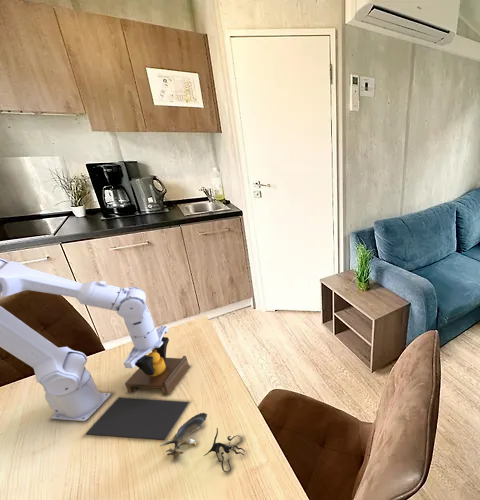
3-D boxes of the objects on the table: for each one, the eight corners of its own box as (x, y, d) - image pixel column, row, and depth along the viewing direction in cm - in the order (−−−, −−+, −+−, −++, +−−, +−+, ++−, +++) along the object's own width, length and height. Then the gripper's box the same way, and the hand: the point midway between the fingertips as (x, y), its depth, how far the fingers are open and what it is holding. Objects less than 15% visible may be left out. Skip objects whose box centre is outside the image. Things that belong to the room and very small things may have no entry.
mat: (86, 434, 69) (85, 433, 69) (119, 398, 78) (118, 397, 78) (164, 440, 68) (164, 439, 68) (188, 402, 77) (188, 401, 77)
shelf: (128, 392, 80) (123, 380, 78) (152, 364, 89) (148, 353, 87) (168, 394, 80) (164, 382, 78) (189, 367, 89) (186, 355, 87)
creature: (250, 440, 69) (217, 434, 69) (252, 426, 67) (218, 420, 67) (237, 476, 62) (201, 470, 62) (239, 462, 60) (201, 456, 60)
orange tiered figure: (144, 376, 81) (137, 358, 78) (155, 364, 85) (149, 346, 82) (159, 376, 81) (152, 359, 78) (169, 364, 85) (163, 347, 82)
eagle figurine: (197, 460, 63) (216, 417, 71) (170, 447, 60) (193, 404, 67) (176, 464, 66) (196, 423, 73) (150, 452, 63) (174, 410, 70)
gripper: (136, 350, 70) (151, 389, 76) (173, 314, 83) (184, 349, 89) (109, 349, 71) (126, 387, 76) (150, 313, 84) (162, 348, 89)
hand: (156, 367), depth 83 cm, fingers closed on orange tiered figure, 4 cm apart
